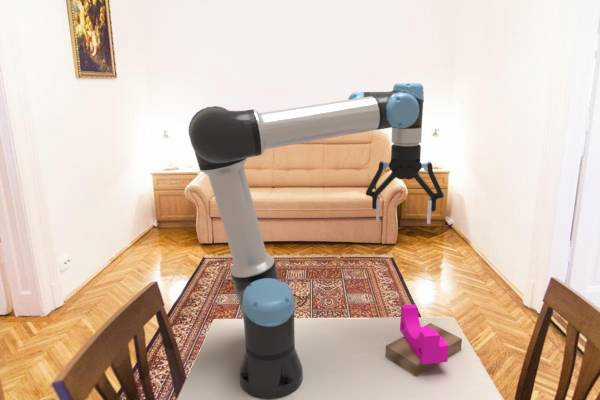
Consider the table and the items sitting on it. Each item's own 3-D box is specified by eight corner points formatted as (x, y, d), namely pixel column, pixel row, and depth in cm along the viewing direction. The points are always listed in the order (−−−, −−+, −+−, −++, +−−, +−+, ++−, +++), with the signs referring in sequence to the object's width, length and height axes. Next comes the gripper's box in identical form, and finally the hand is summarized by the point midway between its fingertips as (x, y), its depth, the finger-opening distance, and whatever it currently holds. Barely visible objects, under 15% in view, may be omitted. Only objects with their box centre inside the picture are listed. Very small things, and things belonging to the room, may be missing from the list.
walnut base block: (385, 359, 113) (385, 345, 112) (429, 335, 124) (430, 322, 123) (416, 379, 105) (416, 364, 104) (460, 352, 116) (461, 338, 115)
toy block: (447, 361, 105) (449, 334, 103) (422, 364, 105) (424, 336, 103) (421, 328, 120) (423, 303, 118) (399, 330, 119) (401, 305, 117)
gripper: (454, 142, 115) (448, 219, 121) (359, 141, 121) (358, 215, 126) (458, 146, 108) (452, 227, 114) (357, 145, 114) (355, 223, 119)
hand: (402, 221), depth 120 cm, fingers open, 13 cm apart
